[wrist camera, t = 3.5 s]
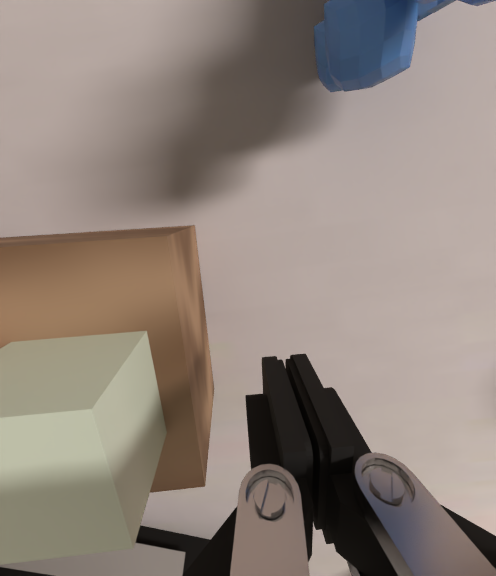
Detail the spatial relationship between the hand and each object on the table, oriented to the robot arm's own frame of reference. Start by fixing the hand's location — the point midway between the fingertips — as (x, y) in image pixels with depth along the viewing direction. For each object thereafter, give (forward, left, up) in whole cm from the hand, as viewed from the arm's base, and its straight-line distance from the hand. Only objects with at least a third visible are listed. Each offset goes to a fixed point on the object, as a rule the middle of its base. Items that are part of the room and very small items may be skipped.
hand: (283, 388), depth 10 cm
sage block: (0, +8, -1) cm, 8 cm away
